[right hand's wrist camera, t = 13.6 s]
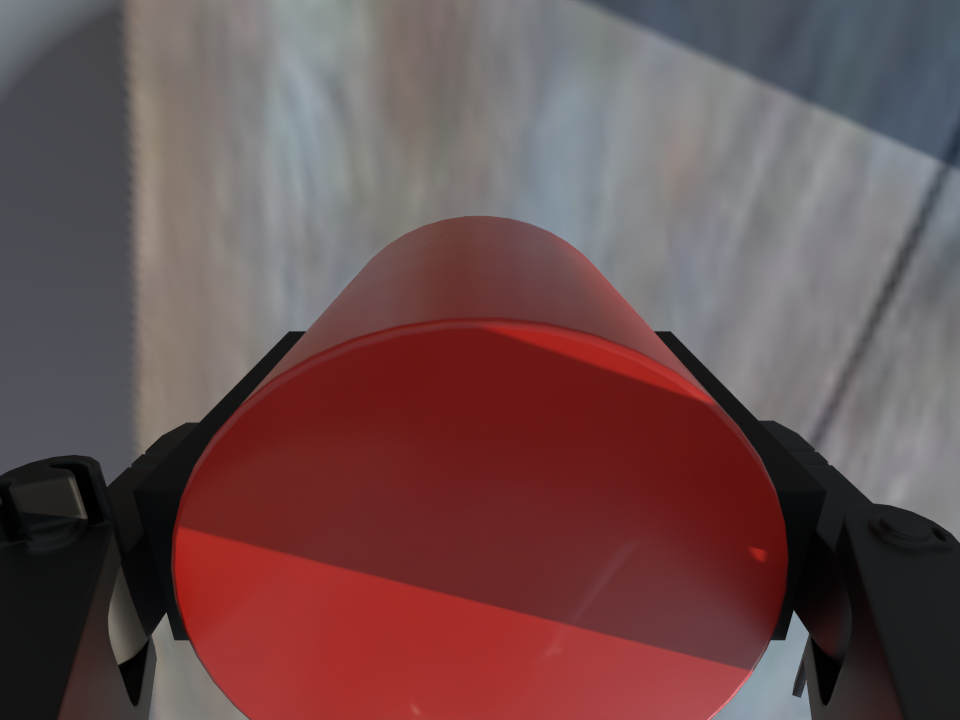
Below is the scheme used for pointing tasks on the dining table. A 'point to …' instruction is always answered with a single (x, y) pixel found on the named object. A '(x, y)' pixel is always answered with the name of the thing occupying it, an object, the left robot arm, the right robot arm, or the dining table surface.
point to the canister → (479, 505)
